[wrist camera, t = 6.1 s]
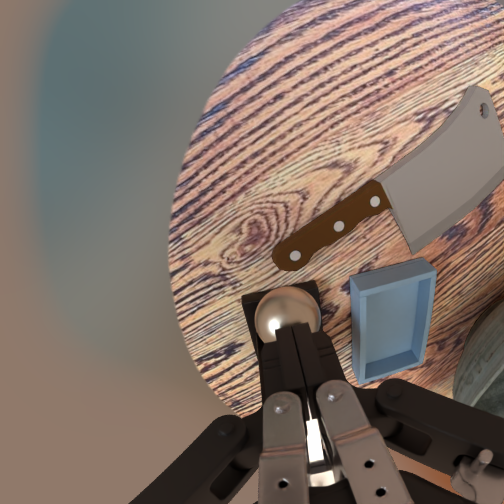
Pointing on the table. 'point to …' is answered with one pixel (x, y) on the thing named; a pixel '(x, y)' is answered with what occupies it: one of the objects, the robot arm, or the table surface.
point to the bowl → (483, 364)
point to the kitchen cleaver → (418, 185)
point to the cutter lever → (287, 314)
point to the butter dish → (391, 318)
